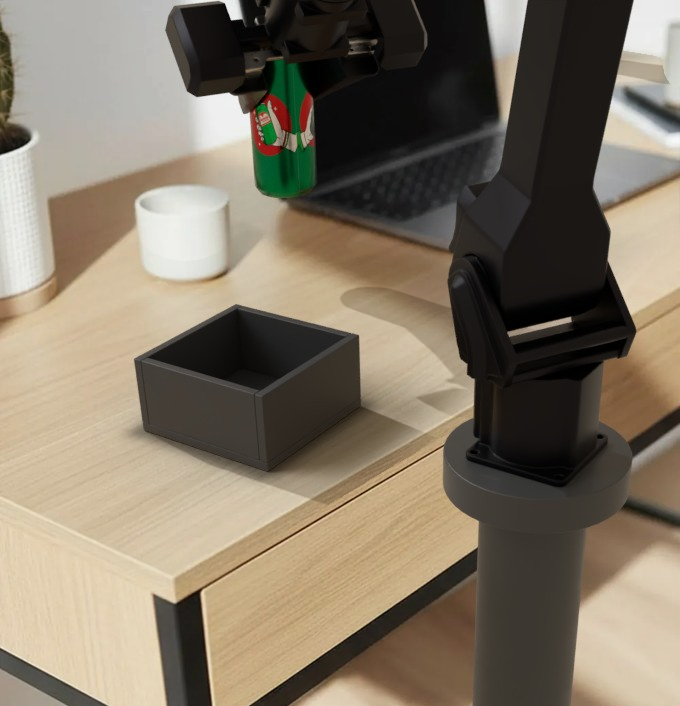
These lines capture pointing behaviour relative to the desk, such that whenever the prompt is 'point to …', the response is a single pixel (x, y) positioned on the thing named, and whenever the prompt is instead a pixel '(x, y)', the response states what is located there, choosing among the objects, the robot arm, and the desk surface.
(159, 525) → the desk surface
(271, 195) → the soda can
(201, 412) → the open square box
